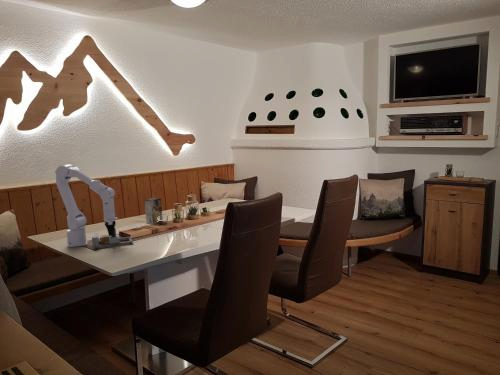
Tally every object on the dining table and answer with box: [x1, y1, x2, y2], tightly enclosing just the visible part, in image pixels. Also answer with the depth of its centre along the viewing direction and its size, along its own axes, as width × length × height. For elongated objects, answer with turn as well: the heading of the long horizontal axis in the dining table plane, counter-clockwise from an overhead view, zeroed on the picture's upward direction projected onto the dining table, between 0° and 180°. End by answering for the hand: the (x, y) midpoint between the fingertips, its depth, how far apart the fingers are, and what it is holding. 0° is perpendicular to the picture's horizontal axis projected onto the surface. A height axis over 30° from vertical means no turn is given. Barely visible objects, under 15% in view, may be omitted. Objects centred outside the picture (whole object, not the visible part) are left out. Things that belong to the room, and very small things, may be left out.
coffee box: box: [144, 197, 163, 225], centre depth 259 cm, size 9×6×16 cm
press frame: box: [91, 232, 133, 250], centre depth 210 cm, size 20×11×6 cm, turn 111°
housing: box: [99, 234, 110, 245], centre depth 209 cm, size 4×4×5 cm
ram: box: [109, 227, 120, 244], centre depth 210 cm, size 5×8×8 cm, turn 21°
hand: (111, 235), depth 210 cm, fingers closed on ram, 2 cm apart
